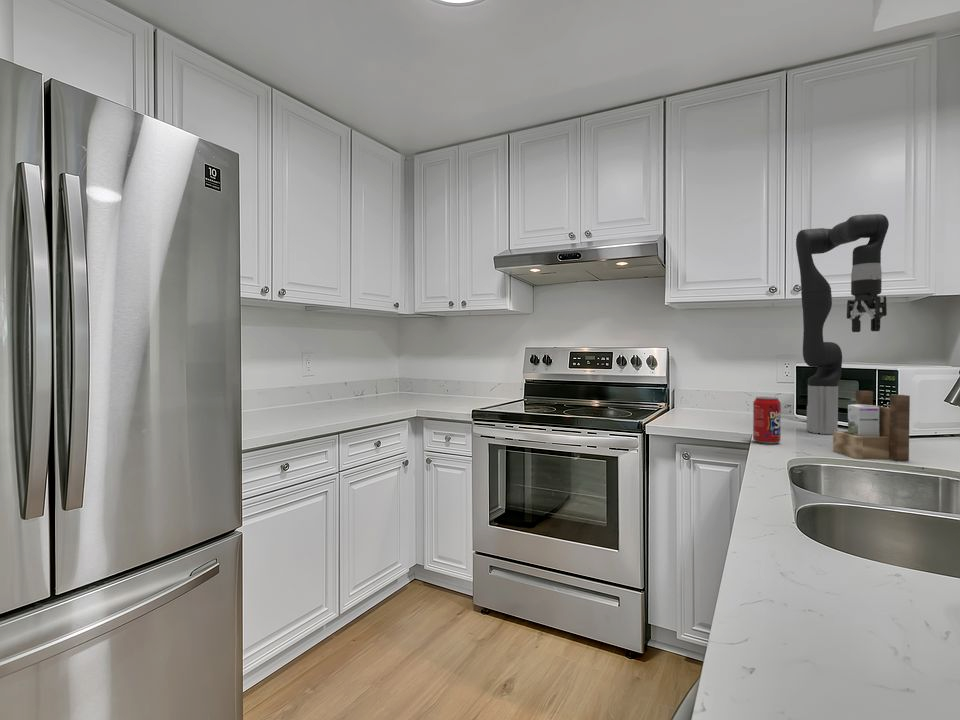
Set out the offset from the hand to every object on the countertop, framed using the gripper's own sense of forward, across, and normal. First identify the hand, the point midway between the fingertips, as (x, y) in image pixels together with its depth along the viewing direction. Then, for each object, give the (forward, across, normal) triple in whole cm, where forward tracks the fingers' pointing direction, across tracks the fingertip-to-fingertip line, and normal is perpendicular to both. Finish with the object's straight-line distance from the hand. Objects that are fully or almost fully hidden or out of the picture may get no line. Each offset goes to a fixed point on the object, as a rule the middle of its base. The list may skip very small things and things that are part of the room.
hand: (865, 331), depth 159 cm
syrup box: (+36, +12, -8) cm, 39 cm away
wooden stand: (+36, +12, -8) cm, 39 cm away
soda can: (+36, -7, -26) cm, 45 cm away
